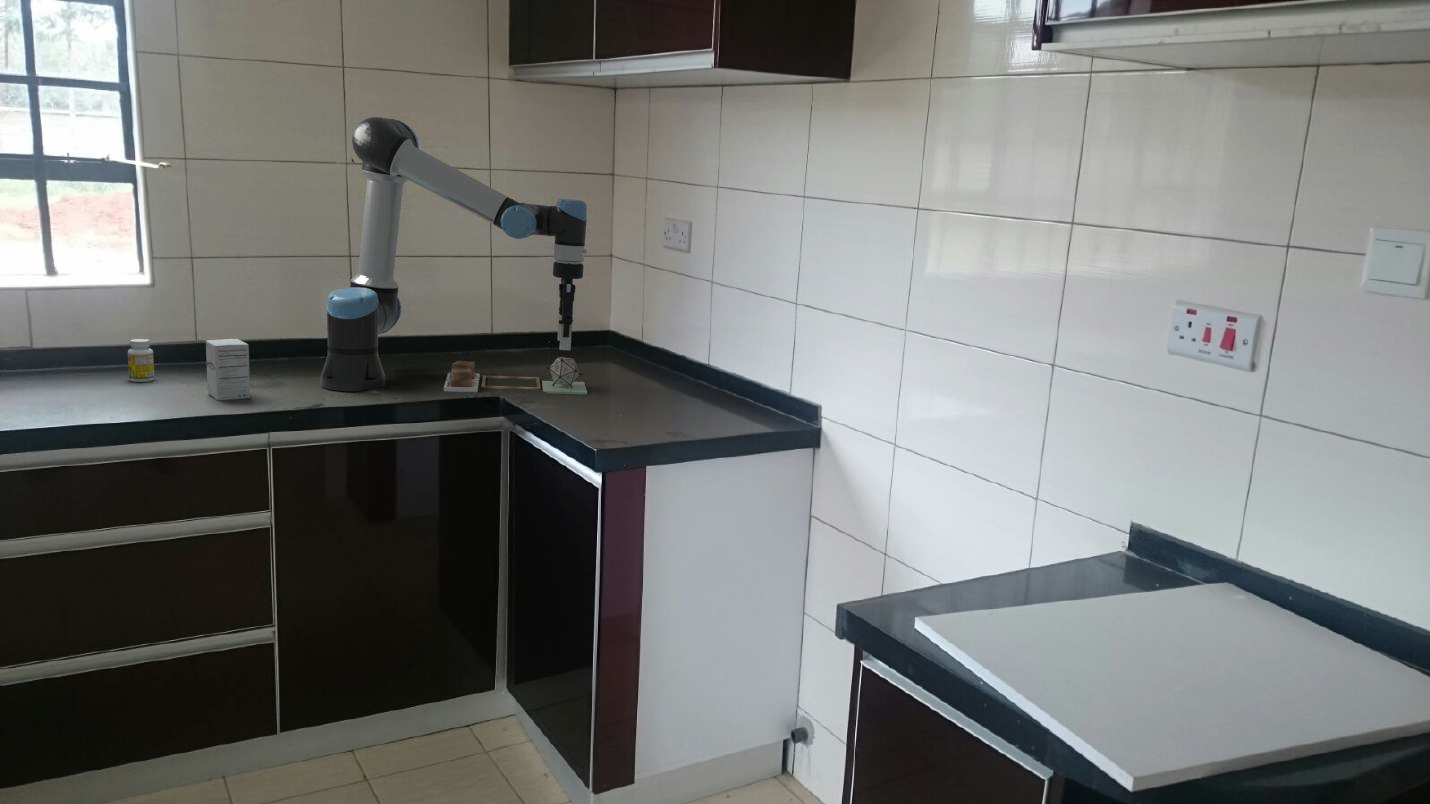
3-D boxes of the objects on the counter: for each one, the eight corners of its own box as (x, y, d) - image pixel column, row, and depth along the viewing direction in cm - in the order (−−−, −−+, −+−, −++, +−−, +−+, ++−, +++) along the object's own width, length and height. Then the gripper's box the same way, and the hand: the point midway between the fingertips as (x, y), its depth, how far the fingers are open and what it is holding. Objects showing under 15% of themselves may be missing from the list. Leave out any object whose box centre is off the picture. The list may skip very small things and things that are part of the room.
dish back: (446, 385, 269) (446, 379, 268) (448, 378, 276) (448, 372, 276) (478, 386, 270) (478, 379, 270) (479, 379, 278) (479, 373, 278)
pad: (543, 393, 267) (543, 391, 266) (541, 383, 279) (541, 380, 279) (587, 394, 269) (587, 392, 269) (583, 384, 281) (584, 381, 281)
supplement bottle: (154, 382, 251) (152, 342, 249) (128, 382, 249) (126, 342, 247) (154, 377, 256) (152, 338, 254) (129, 378, 253) (126, 338, 251)
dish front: (443, 393, 259) (443, 387, 259) (445, 386, 267) (445, 380, 267) (477, 394, 261) (477, 388, 260) (478, 387, 268) (478, 381, 268)
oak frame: (481, 390, 266) (481, 386, 265) (482, 379, 279) (483, 375, 278) (540, 391, 268) (540, 388, 268) (539, 381, 281) (539, 377, 281)
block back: (451, 381, 271) (452, 363, 270) (457, 377, 276) (457, 360, 275) (469, 382, 271) (469, 365, 270) (474, 379, 275) (474, 362, 274)
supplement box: (206, 394, 243) (204, 339, 240) (240, 391, 247) (239, 338, 245) (216, 401, 237) (214, 345, 234) (251, 398, 242) (249, 343, 239)
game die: (569, 399, 276) (593, 369, 277) (561, 394, 268) (585, 362, 268) (543, 379, 278) (567, 349, 278) (534, 373, 269) (559, 342, 270)
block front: (453, 390, 261) (453, 372, 260) (451, 386, 265) (451, 368, 264) (471, 390, 262) (472, 372, 261) (469, 386, 267) (469, 368, 266)
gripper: (586, 268, 256) (581, 354, 260) (580, 258, 280) (575, 337, 284) (555, 265, 254) (550, 353, 259) (552, 256, 278) (547, 336, 283)
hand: (563, 345), depth 271 cm, fingers open, 13 cm apart
